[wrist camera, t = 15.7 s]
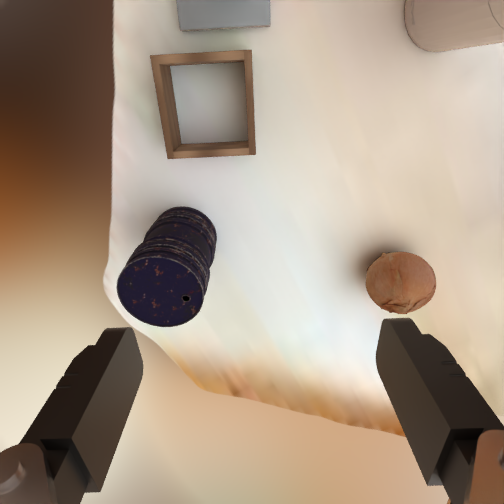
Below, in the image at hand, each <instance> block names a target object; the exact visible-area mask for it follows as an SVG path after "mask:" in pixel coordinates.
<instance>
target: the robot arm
mask: <svg viewBox="0 0 504 504" xmlns="http://www.w3.org/2000/svg"><path fill="white" fill-rule="evenodd" d="M405 24H406V28H407V31H408V34H409V36H410V37H411V39H412V40H413V42H414V43H415V44H416V45H418V46H419V47H420V48H422V49H424V50H426V51H432V52H441V51H448V50H455V49H463V48H469V47H476V46H482V45H489V44H495V43H502V42H504V0H406V4H405ZM376 365H377V369H378V373H379V375H380V378H381V380H382V382H383V384H384V387H385V389H386V391H387V394H388V396H389V398H390V401H391V403H392V405H393V408H394V410H395V412H396V415H397V417H398V419H399V421H400V424H401V426H402V428H403V431H404V433H405V435H406V438H407V440H408V442H409V445H410V447H411V449H412V451H413V454H414V456H415V458H416V461H417V463H418V465H419V468H420V470H421V472H422V475H423V477H424V479H425V481H426V484H427V485H428V486H431V485H432V486H433V485H443V486H444V488H445V490H446V492H447V494H448V497H449V500H448V502H447V504H504V426H503V424H502V423H501V422H500V420H499V419H498V418H497V416H496V415H495V413H494V412H493V411H492V409H491V408H490V407H489V405H488V404H487V402H486V401H485V400H484V398H483V397H482V396H481V394H480V393H479V391H478V390H477V389H476V387H475V386H474V385H473V383H472V382H471V380H470V379H469V378H468V377H466V375H465V372H464V371H463V369H462V368H461V367H460V365H459V364H457V363H456V360H455V358H454V357H453V356H452V354H451V353H450V352H449V350H448V349H447V347H446V346H444V345H443V344H442V343H441V342H439V341H438V340H437V339H435V338H434V337H433V336H431V335H430V334H421V332H420V331H419V329H418V328H417V326H416V325H415V323H414V322H413V320H412V319H410V318H392V319H384V320H383V321H382V325H381V330H380V335H379V340H378V346H377V351H376ZM142 375H143V361H142V357H141V354H140V350H139V347H138V344H137V340H136V337H135V333H134V331H133V329H132V328H130V327H127V328H107V329H105V330H104V331H103V333H102V334H101V336H100V338H99V339H98V341H97V343H96V345H88V346H87V347H86V348H85V349H84V350H83V351H82V352H81V353H79V355H77V356H76V357H75V358H74V359H73V360H72V362H71V364H70V365H69V367H68V368H67V370H66V372H65V374H64V376H62V378H61V379H60V381H59V382H58V384H57V386H56V389H54V390H53V392H52V393H51V395H50V397H49V398H48V400H47V401H46V403H45V404H44V406H43V407H42V409H41V410H40V412H39V414H38V415H37V417H36V418H35V420H34V421H33V423H32V425H31V426H30V428H29V429H28V431H27V432H26V434H25V435H24V437H23V439H22V440H21V441H20V443H19V444H18V445H15V446H12V447H10V448H8V449H6V450H4V451H2V452H0V504H80V502H81V500H82V498H83V495H84V493H85V492H86V493H87V492H100V491H101V489H102V486H103V483H104V481H105V478H106V475H107V473H108V470H109V467H110V464H111V462H112V459H113V456H114V454H115V451H116V448H117V445H118V443H119V440H120V437H121V434H122V431H123V429H124V426H125V424H126V421H127V418H128V415H129V413H130V410H131V407H132V404H133V402H134V399H135V396H136V394H137V391H138V388H139V385H140V383H141V380H142Z"/></svg>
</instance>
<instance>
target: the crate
mask: <svg viewBox="0 0 504 504" xmlns="http://www.w3.org/2000/svg"><path fill="white" fill-rule="evenodd" d="M150 58H151V64H152V70H153V76H154V82H155V88H156V93H157V99H158V105H159V111H160V117H161V123H162V128H163V134H164V140H165V146H166V152H167V158H168V159H177V158H198V157H218V156H239V155H256V147H255V122H254V98H253V73H252V50H239V51H221V52H203V53H185V54H167V55H150ZM231 62H244V63H245V83H246V103H247V123H248V141H238V142H218V143H198V144H181V138H180V131H179V124H178V118H177V111H176V104H175V97H174V91H173V84H172V77H171V70H170V66H176V65H194V64H213V63H231Z"/></svg>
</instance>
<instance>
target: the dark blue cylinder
mask: <svg viewBox="0 0 504 504" xmlns="http://www.w3.org/2000/svg"><path fill="white" fill-rule="evenodd" d="M216 240H217V236H216V230H215V228H214V225H213V224H212V222H211V221H210V219H209V218H208V217H207V216H206V215H204V214H203V213H202V212H200V211H198V210H196V209H193V208H190V207H175V208H171V209H169V210H167V211H165V212H164V213H162V214H161V215H160V216H159V218H158V219H157V220H156V221H155V222H154V224H153V225H152V226H151V228H150V229H149V230H148V232H147V233H146V235H145V238H144V241H143V243H141V244H140V245H139V246H138V247H137V248H136V249H135V251H134V252H133V254H132V255H131V257H130V258H129V260H128V262H127V263H126V266H125V267H124V269H123V270H122V272H121V274H120V275H119V278H118V281H117V293H118V297H119V299H120V302H121V303H122V305H123V306H124V308H125V309H126V310H127V311H128V312H129V313H130V314H131V315H132V316H134V317H135V318H137V319H138V320H140V321H142V322H144V323H147V324H150V325H153V326H159V327H173V326H178V325H182V324H184V323H186V322H188V321H190V320H191V319H193V318H194V317H195V316H196V315H197V314H198V312H199V311H200V309H201V307H202V304H203V300H204V296H205V294H206V290H207V286H208V282H209V278H210V270H209V268H210V266H211V265H212V263H213V260H214V254H215V248H216Z"/></svg>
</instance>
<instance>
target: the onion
mask: <svg viewBox="0 0 504 504" xmlns="http://www.w3.org/2000/svg"><path fill="white" fill-rule="evenodd" d="M366 288H367V291H368V294H369V296H370V297H371V299H372V300H373V301H374V302H375V303H376V304H377V305H378V306H379V307H381V309H384V310H387V311H389V313H392V312H394V313H398V314H407V313H409V312H412V311H415V310H417V309H419V308H421V307H422V306H424V305H425V304H427V303H428V302H429V301H430V300H431V298H432V297H433V295H434V293H435V289H436V278H435V274H434V271H433V269H432V267H431V266H430V265H429V264H428V263H427V262H426V261H425V260H424V259H423V258H421V257H419V256H417V255H414V254H411V253H407V252H393V253H387V254H386V253H382V256H381V257H379V258H378V259H377V260H376V261H375V262H374V263H372V264H371V265H370V267H368V269H367V275H366Z"/></svg>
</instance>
